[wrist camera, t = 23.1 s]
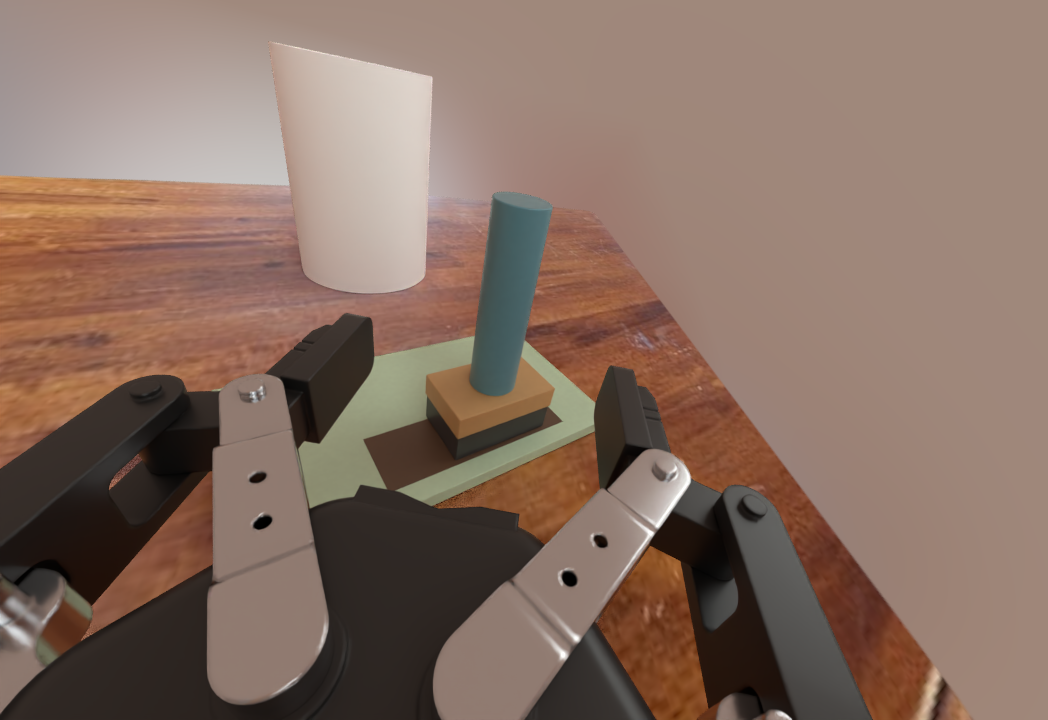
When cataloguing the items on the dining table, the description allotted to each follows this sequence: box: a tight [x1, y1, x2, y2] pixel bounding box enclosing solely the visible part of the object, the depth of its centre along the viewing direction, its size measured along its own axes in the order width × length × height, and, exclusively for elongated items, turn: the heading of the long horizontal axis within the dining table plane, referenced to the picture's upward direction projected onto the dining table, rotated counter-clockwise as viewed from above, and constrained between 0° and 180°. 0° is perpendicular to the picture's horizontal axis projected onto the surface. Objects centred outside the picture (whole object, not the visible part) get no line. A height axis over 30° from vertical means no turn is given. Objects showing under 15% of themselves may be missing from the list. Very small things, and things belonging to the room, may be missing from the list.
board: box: [212, 336, 596, 508], centre depth 28 cm, size 24×14×1 cm, turn 126°
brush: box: [425, 192, 555, 460], centre depth 23 cm, size 7×5×15 cm, turn 126°
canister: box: [268, 42, 432, 294], centre depth 41 cm, size 14×14×20 cm
